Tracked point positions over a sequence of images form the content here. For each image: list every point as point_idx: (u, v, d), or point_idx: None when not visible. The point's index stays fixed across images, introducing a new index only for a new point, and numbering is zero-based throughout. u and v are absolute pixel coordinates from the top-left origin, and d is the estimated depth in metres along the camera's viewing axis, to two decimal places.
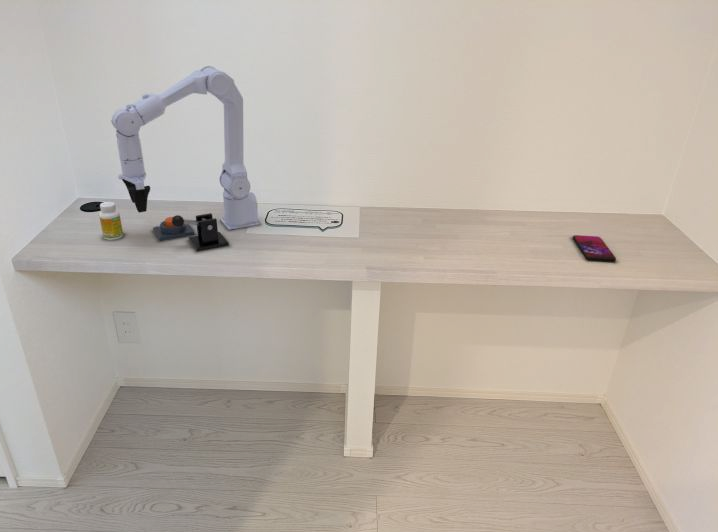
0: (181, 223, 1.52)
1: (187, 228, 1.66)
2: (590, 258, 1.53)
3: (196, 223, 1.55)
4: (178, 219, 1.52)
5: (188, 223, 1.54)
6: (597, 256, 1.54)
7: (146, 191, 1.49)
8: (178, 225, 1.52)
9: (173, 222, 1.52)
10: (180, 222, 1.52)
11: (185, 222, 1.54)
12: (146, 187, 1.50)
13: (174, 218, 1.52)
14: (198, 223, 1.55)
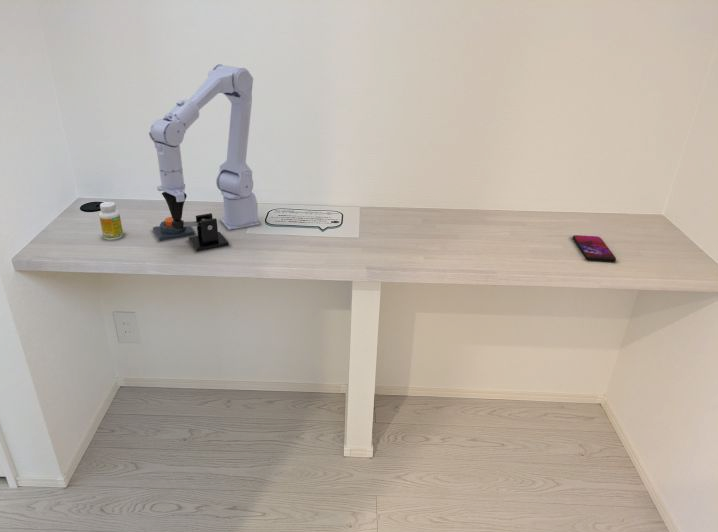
0: (181, 226, 1.53)
1: (187, 228, 1.66)
2: (590, 258, 1.53)
3: (196, 224, 1.55)
4: (177, 222, 1.52)
5: (187, 224, 1.54)
6: (597, 256, 1.54)
7: None
8: (178, 228, 1.53)
9: (173, 225, 1.52)
10: (180, 225, 1.52)
11: (185, 224, 1.54)
12: None
13: (173, 221, 1.52)
14: (198, 224, 1.55)
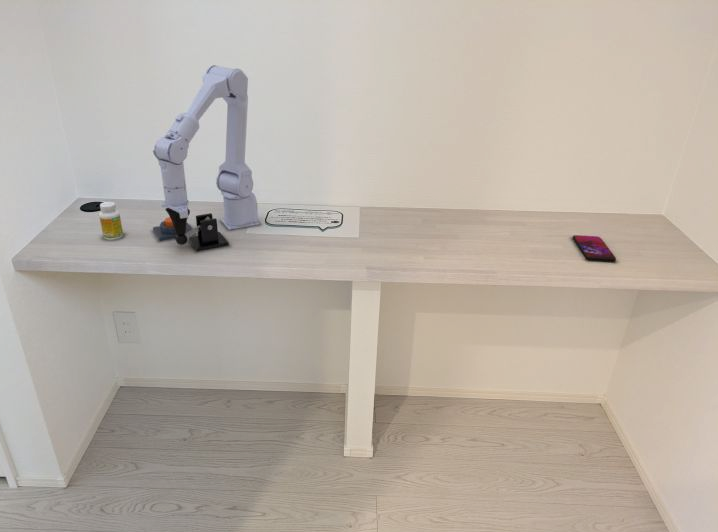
0: (184, 239, 1.55)
1: (187, 228, 1.66)
2: (590, 258, 1.53)
3: (197, 230, 1.56)
4: (179, 238, 1.54)
5: (190, 234, 1.56)
6: (597, 256, 1.54)
7: None
8: (183, 243, 1.55)
9: (178, 243, 1.55)
10: (183, 239, 1.55)
11: (188, 235, 1.56)
12: None
13: (176, 239, 1.55)
14: (199, 229, 1.56)
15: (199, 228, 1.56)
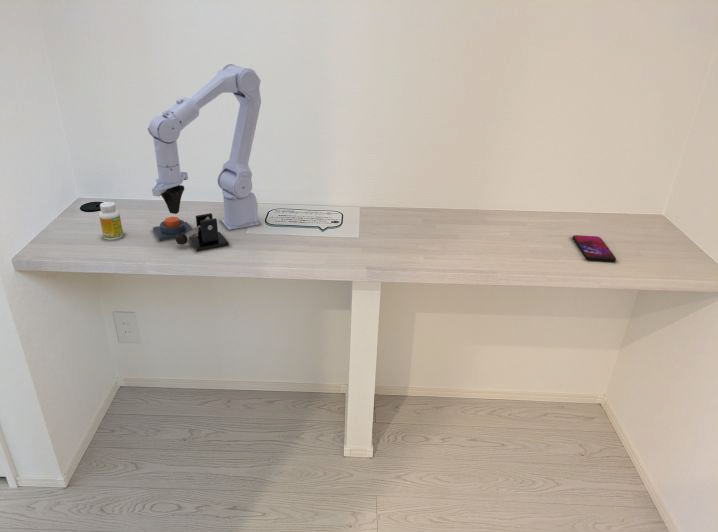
0: (184, 239, 1.55)
1: (187, 228, 1.66)
2: (590, 258, 1.53)
3: (197, 230, 1.56)
4: (179, 238, 1.54)
5: (190, 234, 1.56)
6: (597, 256, 1.54)
7: (172, 195, 1.52)
8: (183, 243, 1.55)
9: (178, 243, 1.55)
10: (183, 239, 1.55)
11: (188, 235, 1.56)
12: (174, 191, 1.52)
13: (176, 239, 1.55)
14: (199, 229, 1.56)
15: (199, 228, 1.56)
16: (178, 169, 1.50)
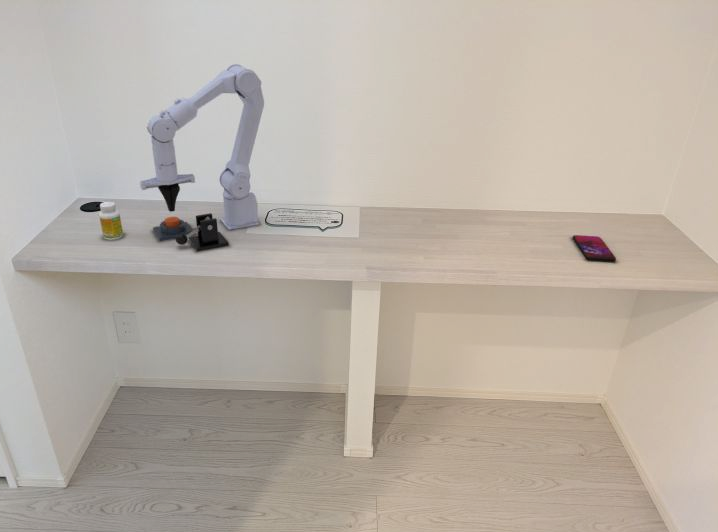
0: (184, 239, 1.55)
1: (187, 228, 1.66)
2: (590, 258, 1.53)
3: (197, 230, 1.56)
4: (179, 238, 1.54)
5: (190, 234, 1.56)
6: (597, 256, 1.54)
7: (161, 192, 1.56)
8: (183, 243, 1.55)
9: (178, 243, 1.55)
10: (183, 239, 1.55)
11: (188, 235, 1.56)
12: (164, 189, 1.56)
13: (176, 239, 1.55)
14: (199, 229, 1.56)
15: (199, 228, 1.56)
16: (169, 169, 1.53)
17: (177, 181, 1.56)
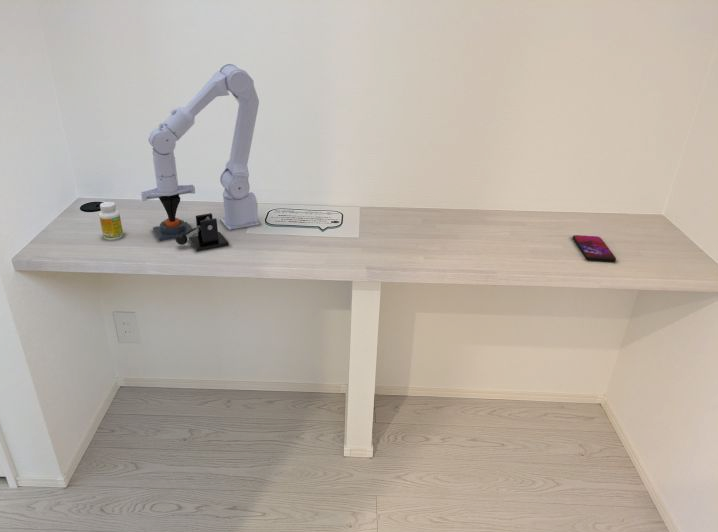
0: (184, 239, 1.55)
1: (187, 228, 1.66)
2: (590, 258, 1.53)
3: (197, 230, 1.56)
4: (179, 238, 1.54)
5: (190, 234, 1.56)
6: (597, 256, 1.54)
7: (162, 203, 1.59)
8: (183, 243, 1.55)
9: (178, 243, 1.55)
10: (183, 239, 1.55)
11: (188, 235, 1.56)
12: (164, 200, 1.58)
13: (176, 239, 1.55)
14: (199, 229, 1.56)
15: (199, 228, 1.56)
16: (169, 181, 1.55)
17: (177, 192, 1.58)
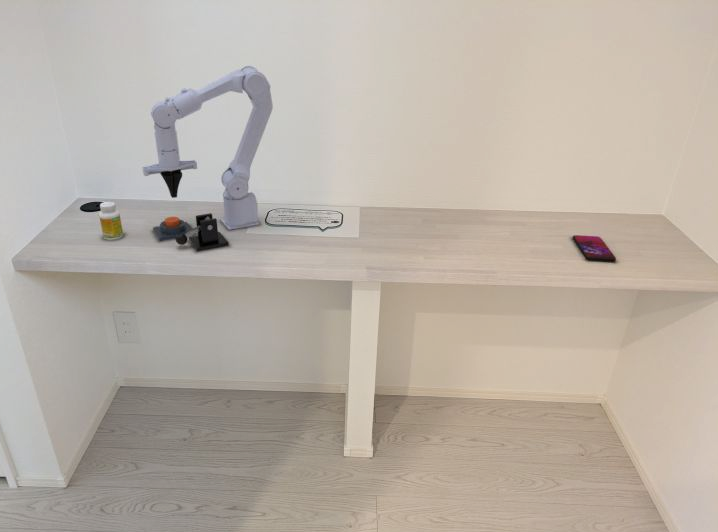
0: (184, 239, 1.55)
1: (187, 228, 1.66)
2: (590, 258, 1.53)
3: (197, 230, 1.56)
4: (179, 238, 1.54)
5: (190, 234, 1.56)
6: (597, 256, 1.54)
7: (164, 178, 1.57)
8: (183, 243, 1.55)
9: (178, 243, 1.55)
10: (183, 239, 1.55)
11: (188, 235, 1.56)
12: (166, 175, 1.57)
13: (176, 239, 1.55)
14: (199, 229, 1.56)
15: (199, 228, 1.56)
16: (171, 155, 1.54)
17: (179, 167, 1.57)
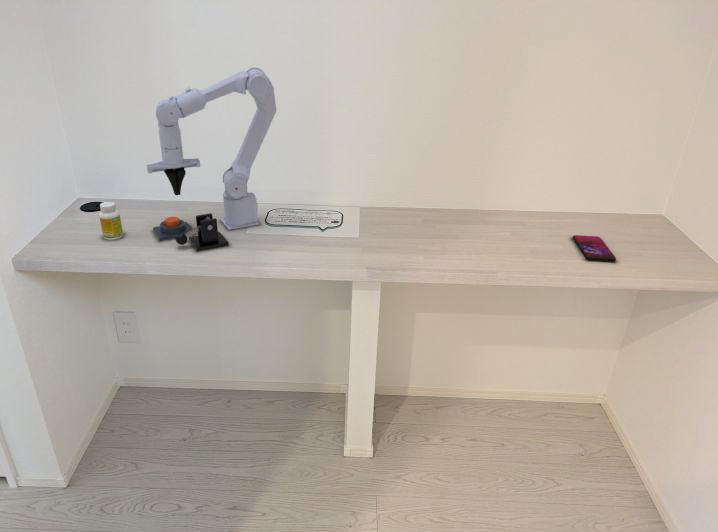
0: (184, 239, 1.55)
1: (187, 228, 1.66)
2: (590, 258, 1.53)
3: (197, 230, 1.56)
4: (179, 238, 1.54)
5: (190, 234, 1.56)
6: (597, 256, 1.54)
7: (167, 176, 1.59)
8: (183, 243, 1.55)
9: (178, 243, 1.55)
10: (183, 239, 1.55)
11: (188, 235, 1.56)
12: (170, 173, 1.58)
13: (176, 239, 1.55)
14: (199, 229, 1.56)
15: (199, 228, 1.56)
16: (175, 153, 1.56)
17: (183, 165, 1.58)
